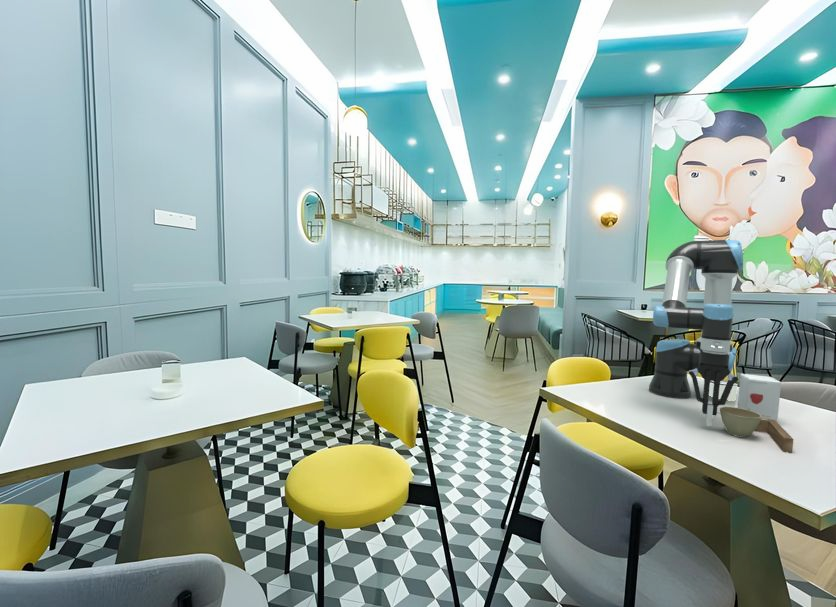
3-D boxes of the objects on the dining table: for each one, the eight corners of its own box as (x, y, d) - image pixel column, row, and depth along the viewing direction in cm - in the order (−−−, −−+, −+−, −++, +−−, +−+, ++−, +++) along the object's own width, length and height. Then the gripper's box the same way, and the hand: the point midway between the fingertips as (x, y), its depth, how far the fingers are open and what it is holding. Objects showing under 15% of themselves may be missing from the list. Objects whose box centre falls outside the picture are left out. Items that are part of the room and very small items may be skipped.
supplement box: (744, 420, 135) (747, 378, 134) (736, 413, 143) (739, 373, 142) (778, 425, 131) (782, 382, 130) (768, 417, 139) (771, 376, 138)
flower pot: (720, 425, 129) (722, 404, 129) (760, 435, 122) (762, 412, 122) (715, 433, 122) (717, 410, 122) (757, 443, 115) (760, 420, 115)
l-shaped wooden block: (737, 442, 115) (738, 429, 115) (727, 424, 131) (727, 412, 131) (792, 453, 109) (793, 439, 109) (774, 432, 125) (775, 420, 125)
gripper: (690, 351, 125) (684, 423, 126) (742, 356, 118) (735, 432, 119) (689, 348, 131) (683, 416, 132) (738, 353, 124) (731, 425, 126)
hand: (708, 424), depth 126 cm, fingers closed
